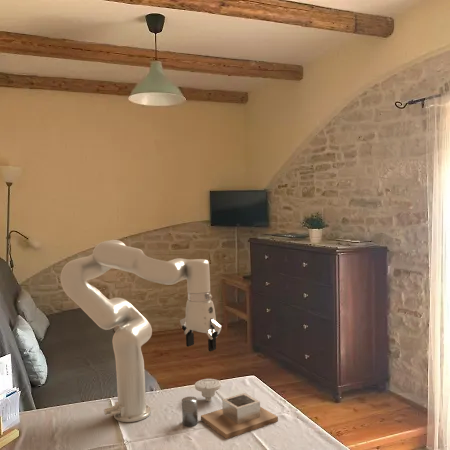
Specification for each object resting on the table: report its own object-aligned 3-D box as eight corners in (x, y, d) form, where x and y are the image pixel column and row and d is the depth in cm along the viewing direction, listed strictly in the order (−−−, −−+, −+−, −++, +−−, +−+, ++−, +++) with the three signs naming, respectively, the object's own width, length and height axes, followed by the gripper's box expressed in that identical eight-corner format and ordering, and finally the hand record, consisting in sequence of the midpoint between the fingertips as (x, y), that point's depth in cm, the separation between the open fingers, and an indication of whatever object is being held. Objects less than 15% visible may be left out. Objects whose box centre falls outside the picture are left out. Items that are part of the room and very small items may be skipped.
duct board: (226, 439, 148) (225, 418, 148) (200, 419, 162) (200, 400, 161) (277, 421, 159) (277, 401, 159) (249, 404, 172) (249, 386, 172)
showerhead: (192, 386, 172) (197, 376, 182) (193, 406, 173) (197, 394, 183) (218, 386, 171) (221, 376, 181) (219, 406, 172) (222, 395, 182)
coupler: (187, 428, 156) (186, 404, 156) (180, 422, 160) (179, 399, 160) (200, 424, 159) (199, 400, 158) (193, 418, 163) (192, 395, 163)
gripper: (226, 297, 157) (228, 349, 158) (187, 292, 168) (189, 341, 169) (212, 301, 152) (214, 355, 152) (172, 296, 162) (174, 346, 163)
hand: (201, 347), depth 161 cm, fingers open, 9 cm apart
